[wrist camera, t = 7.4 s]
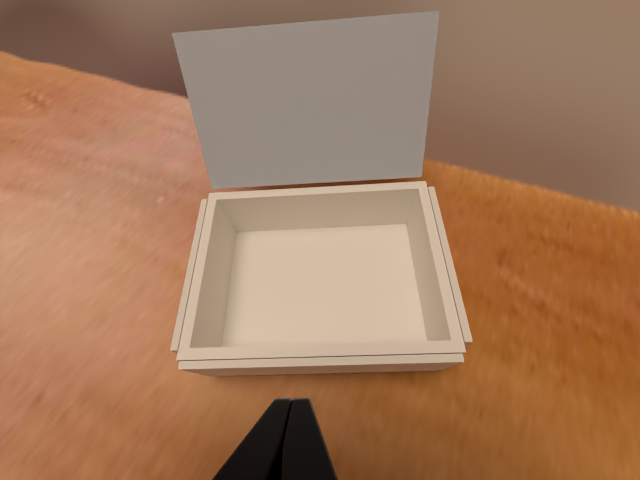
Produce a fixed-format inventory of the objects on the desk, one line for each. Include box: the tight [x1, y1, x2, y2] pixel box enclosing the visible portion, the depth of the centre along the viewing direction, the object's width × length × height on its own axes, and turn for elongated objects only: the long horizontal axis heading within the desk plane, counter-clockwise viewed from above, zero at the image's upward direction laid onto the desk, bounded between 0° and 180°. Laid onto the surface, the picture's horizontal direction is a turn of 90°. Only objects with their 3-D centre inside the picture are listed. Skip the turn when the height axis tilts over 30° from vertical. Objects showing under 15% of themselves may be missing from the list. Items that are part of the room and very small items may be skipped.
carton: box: [170, 181, 473, 376], centre depth 20 cm, size 11×16×5 cm
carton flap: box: [172, 11, 439, 189], centre depth 19 cm, size 9×14×1 cm
